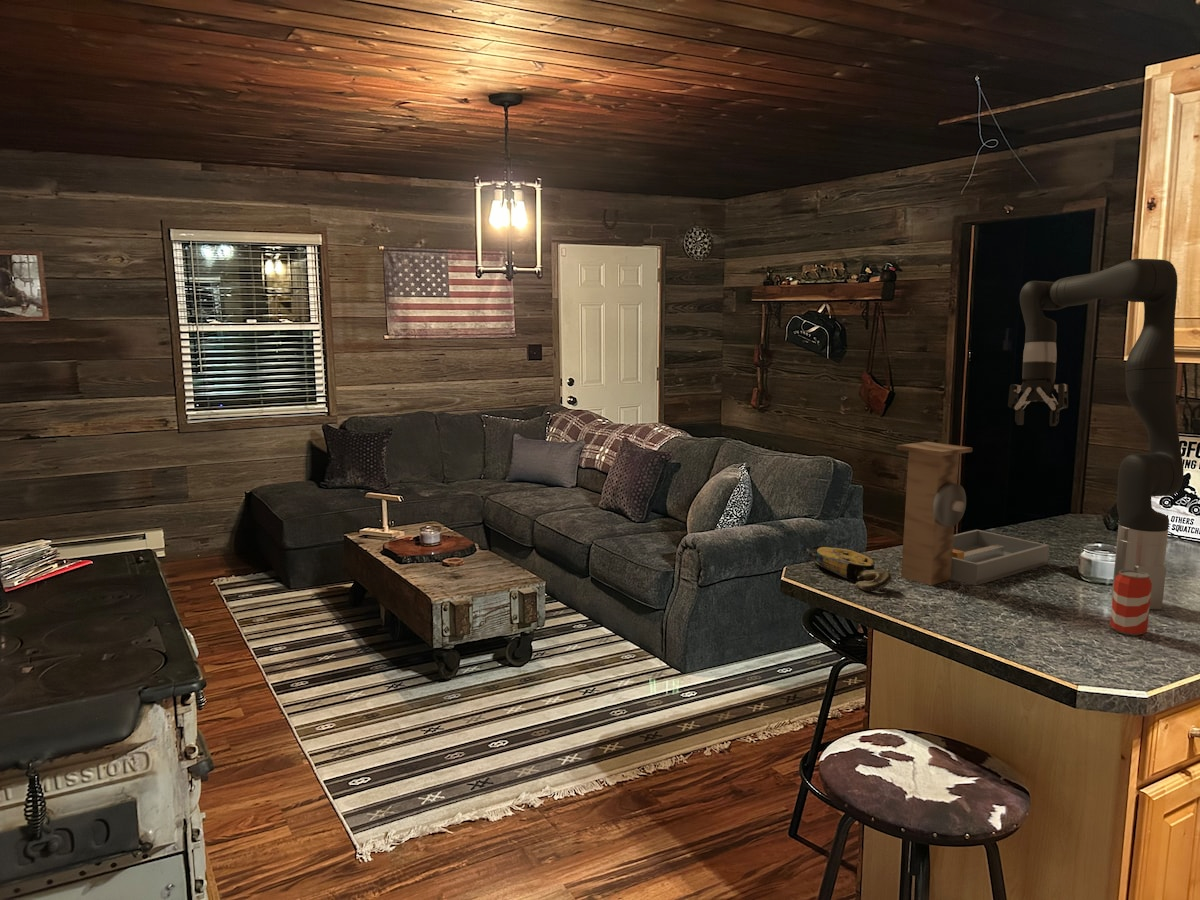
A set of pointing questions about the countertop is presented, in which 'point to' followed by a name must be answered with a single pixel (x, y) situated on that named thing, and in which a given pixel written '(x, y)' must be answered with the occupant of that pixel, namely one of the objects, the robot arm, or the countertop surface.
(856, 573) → the pulley block
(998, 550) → the pin
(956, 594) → the countertop surface
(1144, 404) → the robot arm
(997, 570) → the tray
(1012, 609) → the countertop surface
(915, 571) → the bracket
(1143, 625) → the beverage can
